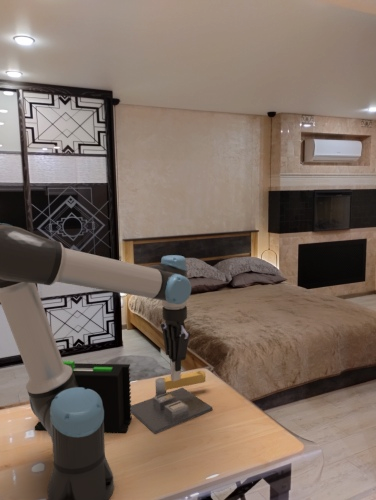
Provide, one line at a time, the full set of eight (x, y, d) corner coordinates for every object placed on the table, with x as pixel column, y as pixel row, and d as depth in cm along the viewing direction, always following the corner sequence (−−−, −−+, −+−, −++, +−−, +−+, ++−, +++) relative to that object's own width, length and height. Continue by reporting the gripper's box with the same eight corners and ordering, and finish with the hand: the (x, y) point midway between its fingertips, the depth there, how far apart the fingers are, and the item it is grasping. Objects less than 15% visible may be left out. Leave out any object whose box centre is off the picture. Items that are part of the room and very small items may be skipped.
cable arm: (157, 399, 135) (157, 383, 134) (154, 394, 138) (154, 379, 138) (207, 389, 142) (207, 374, 141) (202, 385, 145) (202, 370, 144)
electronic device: (133, 414, 129) (131, 354, 127) (126, 433, 119) (123, 369, 116) (48, 411, 132) (45, 353, 129) (33, 430, 121) (29, 367, 118)
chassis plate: (154, 433, 118) (154, 422, 118) (126, 408, 132) (126, 398, 132) (212, 410, 131) (212, 399, 130) (181, 389, 145) (181, 379, 145)
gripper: (197, 308, 120) (198, 383, 123) (173, 299, 130) (174, 369, 133) (176, 313, 115) (177, 390, 118) (153, 303, 126) (154, 375, 129)
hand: (175, 379), depth 126 cm, fingers closed
